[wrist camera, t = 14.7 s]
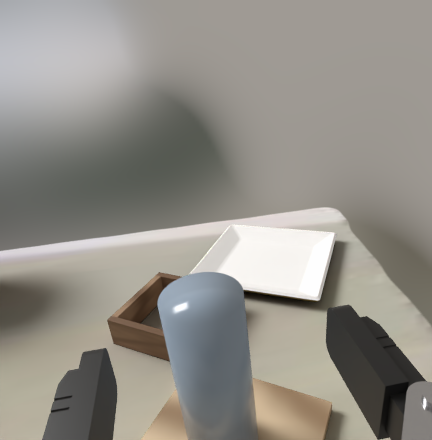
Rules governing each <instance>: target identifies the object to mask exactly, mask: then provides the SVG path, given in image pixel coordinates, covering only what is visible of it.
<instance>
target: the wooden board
mask: <svg viewBox="0 0 432 440" xmlns="http://www.w3.org/2000/svg"><path fill="white" fill-rule="evenodd" d="M252 379H253V388H254V398H255V408H256V418H257V427H258V437H259V440H325V436H326V432H327V428H328V424H329V420H330V416H331V411H332V402H329V401H326V400H323V399H319V398H316V397H313V396H310V395H306V394H303V393H300V392H297V391H293V390H290V389H287V388H284V387H280V386H277V385H274V384H271V383H267V382H264V381H261V380H258V379H254V378H252ZM141 440H188V439H187V435H186V430H185V426H184V421H183V417H182V412H181V408H180V404H179V399H178V395H177V390H175V391H174V392H173V394H172V395H171V397H170V398H169V400H168V401H167V403H166V404H165V405H164V407H163V408H162V410H161V411H160V413H159V414H158V416H157V417H156V418H155V420H154V421H153V423H152V424H151V426H150V427H149V429H148V430H147V431H146V433H145V434H144V436H143V437H142V439H141Z"/></svg>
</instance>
